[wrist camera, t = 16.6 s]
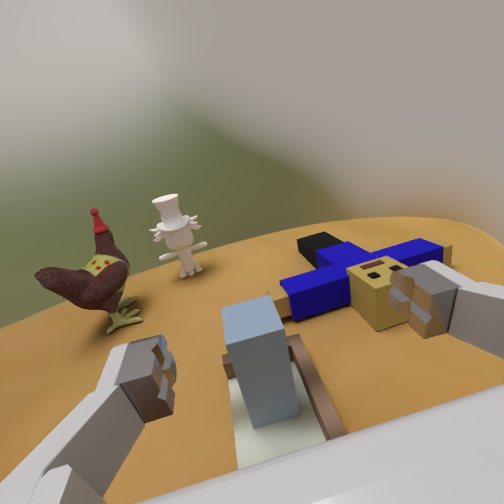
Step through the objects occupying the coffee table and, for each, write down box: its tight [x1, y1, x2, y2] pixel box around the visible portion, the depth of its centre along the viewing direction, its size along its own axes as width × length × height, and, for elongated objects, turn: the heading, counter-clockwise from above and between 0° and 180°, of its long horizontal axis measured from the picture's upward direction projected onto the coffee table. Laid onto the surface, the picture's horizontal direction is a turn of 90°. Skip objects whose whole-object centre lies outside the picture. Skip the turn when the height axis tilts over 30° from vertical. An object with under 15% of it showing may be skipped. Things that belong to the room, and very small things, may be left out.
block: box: [221, 295, 300, 429], centre depth 26 cm, size 5×5×12 cm
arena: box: [222, 333, 347, 470], centre depth 28 cm, size 12×10×3 cm
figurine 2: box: [149, 194, 207, 277], centre depth 54 cm, size 10×8×18 cm
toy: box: [267, 232, 453, 332], centre depth 46 cm, size 30×7×27 cm
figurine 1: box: [34, 209, 143, 334], centre depth 44 cm, size 11×15×20 cm
